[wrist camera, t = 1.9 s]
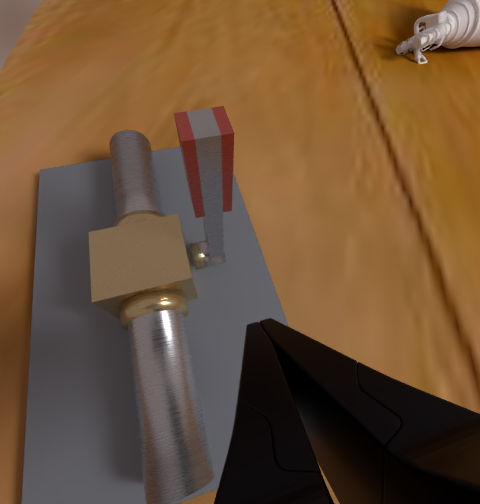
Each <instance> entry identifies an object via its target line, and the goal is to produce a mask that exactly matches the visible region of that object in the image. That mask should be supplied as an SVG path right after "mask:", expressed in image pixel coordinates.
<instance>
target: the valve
mask: <svg viewBox="0 0 480 504" xmlns="http://www.w3.org/2000/svg"><path fill="white" fill-rule="evenodd" d="M110 155H111V165H112V175H113V184H114V194H115V204H116V214H117V219H116V220H115V221H114V223H113V225H112V227H111V228H106V229H101V230H96V231H91V232H89V253H90V276H91V298H92V303H93V304H95V305H97V306H98V307H100V308H101V309H103V310H105V311H106V312H108V313H110V314H111V315H113V316H114V317H116V318H118V319H120V320H121V327H122V328H123V329H125V330H128V332H129V342H130V352H131V362H132V372H133V382H134V392H135V401H136V411H137V421H138V431H139V441H140V451H141V461H142V471H143V480H144V490H145V500H146V504H170V503H172V502H175V501H178V500H180V499H183V498H185V497H187V496H189V495H191V494H193V493H195V492H197V491H198V490H200V489H202V488H203V487H205V486H206V485H207V484H209V483H210V482H211V481H212V480H213V479H214V477H215V474H214V469H213V464H212V459H211V453H210V448H209V443H208V438H207V433H206V428H205V423H204V417H203V412H202V407H201V402H200V397H199V392H198V387H197V382H196V376H195V371H194V366H193V361H192V356H191V351H190V346H189V340H188V335H187V330H186V325H185V320H184V318H185V317H186V316H187V315H188V314H189V310H188V305H187V301H190V300H194V299H198V298H199V297H198V293H197V289H196V284H195V280H194V275H193V271H192V266H191V262H190V258H189V253H188V249H187V244H186V241H185V237H184V234H183V230H182V227H181V223H180V220H179V216H178V214H174V215H169V216H166V215H164V212H163V207H162V202H161V197H160V191H159V186H158V181H157V176H156V171H155V166H154V161H153V156H152V150H151V145H150V142H149V140H148V139H147V138H146V137H145V136H144V135H143V134H141V133H139V132H137V131H133V130H123V131H120V132H117V133H116V134H114V135H113V136H112V138H111V139H110Z"/></svg>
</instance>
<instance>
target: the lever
mask: <svg viewBox="0 0 480 504" xmlns="http://www.w3.org/2000/svg"><path fill="white" fill-rule="evenodd" d="M174 117H175V122H176V127H177V132H178V137H179V142H180V147H181V152H182V158H183V163H184V168H185V173H186V178H187V183H188V188H189V193H190V198H191V202H192V206H193V209H194V213H195V217H196V218H200V217H202V220H203V226H204V233H205V240H204V241H200V242H196V243H191V244H190V248H191V253H192V257H193V261H194V265H195V269H196V270H198V269H202V268H206V267H211V266H215V265H219V264H223V263H226V256H225V251H224V233H223V212H228V211H232V189H233V153H234V132H233V129H232V127H231V124H230V121H229V119H228V116H227V114H226V111H225V109H224V106H221V107H214V108H207V109H201V110H194V111H187V112H180V113H174Z"/></svg>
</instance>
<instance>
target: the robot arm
mask: <svg viewBox="0 0 480 504" xmlns="http://www.w3.org/2000/svg"><path fill="white" fill-rule="evenodd" d="M317 461H318V462H317ZM318 463H319V465H320V467H321V469H322V471H323V473H324V475H325V477H326V478H327V480H328V482H329V484H330V486H331V488H332V490H333V492H334V494H335V495H336V497H337V499H338V501H339V503H340V504H480V414H479V413H476V412H473V411H471V410H468V409H466V408H464V407H461V406H459V405H456V404H454V403H451V402H449V401H446V400H444V399H441V398H439V397H436V396H434V395H431V394H429V393H427V392H424V391H422V390H419V389H417V388H414V387H412V386H410V385H407V384H405V383H403V382H400V381H398V380H395V379H393V378H391V377H389V376H387V375H384V374H382V373H380V372H378V371H376V370H374V369H372V368H370V367H368V366H366V365H364V364H362V363H360V362H358V363H357V361H356V360H354V359H352V358H350V357H348V356H346V355H344V354H342V353H340V352H338V351H336V350H334V349H332V348H330V347H328V346H326V345H324V344H322V343H320V342H318V341H316V340H314V339H312V338H310V337H308V336H306V335H304V334H302V333H300V332H298V331H296V330H294V329H292V328H290V327H288V326H286V325H284V324H282V323H280V322H278V321H276V320H274V319H272V318H268V319H264V320H261V321H260V322H254V323H250V324H247V326H246V334H245V342H244V350H243V357H242V365H241V373H240V381H239V389H238V397H237V404H236V412H235V418H234V424H233V430H232V436H231V440H230V444H229V448H228V453H227V457H226V460H225V464H224V468H223V472H222V475H221V479H220V483H219V486H218V490H217V494H216V497H215V501H214V504H334V502H333V500H332V498H331V496H330V493H329V491H328V489H327V486H326V484H325V481H324V479H323V476H322V474H321V470H320V468H319V465H318Z"/></svg>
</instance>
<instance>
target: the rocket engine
mask: <svg viewBox="0 0 480 504" xmlns="http://www.w3.org/2000/svg"><path fill="white" fill-rule="evenodd" d="M421 22H423V23H424V22H426V30H425V27H424V26H422V27H420V28H419V23H421ZM422 28H423V31H422V32H419V30H420V29H422ZM428 28H429V29H428ZM407 40H408V39H407ZM407 40H406V41H402V42H403V43H402V42H401V43H402V44H401V45H400V46H399V44H398V46H397V48H396V53H397V54H399V55H405V53H406V52H409V51H408V49H409V50H410V52H411V50H413V51H414V56H416V57H415V60H416V61H417V63H418V64H424V63H427V60H426V58H425V57H424V56H423V55H422V54H421V52H420V50H421V51H422V49H423V48H425V47H426V46H428V45H430V44H431V45H432V44H434V43H435V44H438V45H437V46H435V47H433V48H431V49H430V51H431V50H433V49H436V48H437V47H439V46H440V45H442V46H443V47H446V48H450V49H454V48H458V47H478V46H480V0H450V1H449V2H448V3H447V4H446V5H445V6H444V7H443V9H442V10H441V12H440V13H437V14H431V15H426V16H424V17H421V18H419V19H417V21H416V22H415V24H414V36H412V37H411V38H410V39H409V40H408V42H407ZM431 45H430V46H431ZM428 48H430V47H428ZM428 48H426V49H428ZM426 49H425V50H426ZM423 51H424V50H423ZM423 51H422V52H423ZM401 52H403V53H404V54H400V53H401ZM420 58H421V59H422V60H423V61H425V62H420Z"/></svg>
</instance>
